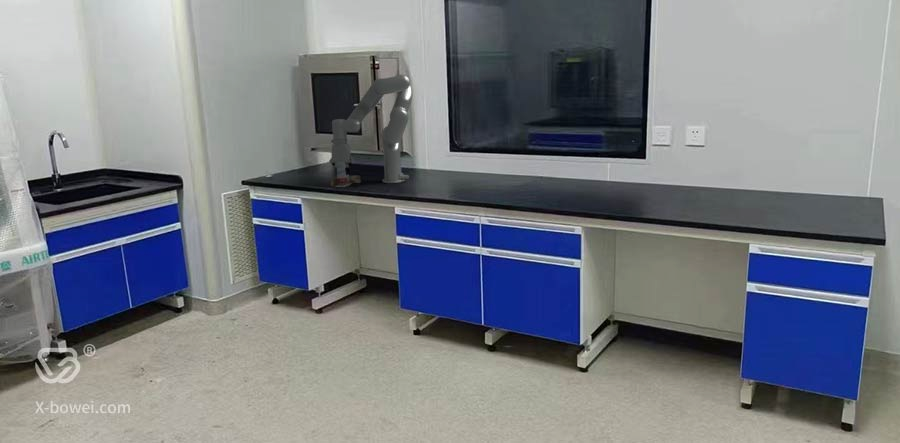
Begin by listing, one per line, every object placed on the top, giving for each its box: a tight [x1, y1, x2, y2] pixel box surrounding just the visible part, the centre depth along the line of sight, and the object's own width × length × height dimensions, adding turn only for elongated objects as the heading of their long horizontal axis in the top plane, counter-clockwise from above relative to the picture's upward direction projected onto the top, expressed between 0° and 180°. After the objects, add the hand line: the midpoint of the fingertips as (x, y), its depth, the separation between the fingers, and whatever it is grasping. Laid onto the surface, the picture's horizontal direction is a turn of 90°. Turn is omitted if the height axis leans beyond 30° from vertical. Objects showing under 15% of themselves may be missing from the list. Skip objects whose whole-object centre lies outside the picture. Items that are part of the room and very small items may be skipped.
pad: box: [334, 183, 353, 188], centre depth 374 cm, size 6×10×1 cm, turn 169°
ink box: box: [336, 162, 350, 184], centre depth 372 cm, size 9×5×12 cm, turn 174°
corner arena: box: [330, 175, 361, 187], centre depth 375 cm, size 13×12×4 cm
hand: (343, 174), depth 372 cm, fingers closed on ink box, 5 cm apart
